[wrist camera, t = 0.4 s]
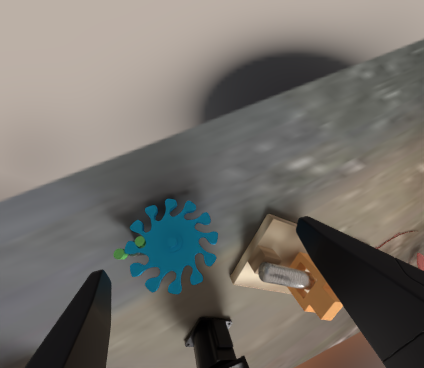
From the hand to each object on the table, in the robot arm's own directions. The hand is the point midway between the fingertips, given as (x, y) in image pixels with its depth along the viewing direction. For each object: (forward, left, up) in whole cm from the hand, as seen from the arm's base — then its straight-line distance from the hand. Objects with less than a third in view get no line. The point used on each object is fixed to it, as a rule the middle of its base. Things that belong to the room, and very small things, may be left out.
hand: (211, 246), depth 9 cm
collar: (-8, -23, -13) cm, 27 cm away
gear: (-8, -2, -15) cm, 17 cm away
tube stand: (-8, -28, -15) cm, 33 cm away
